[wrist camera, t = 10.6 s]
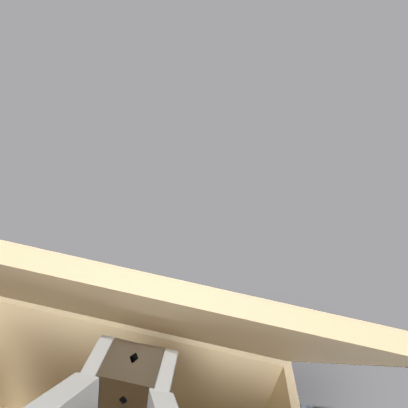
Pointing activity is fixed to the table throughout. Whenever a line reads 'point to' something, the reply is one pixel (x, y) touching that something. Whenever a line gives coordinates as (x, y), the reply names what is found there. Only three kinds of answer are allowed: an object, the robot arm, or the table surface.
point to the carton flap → (195, 310)
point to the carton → (94, 328)
